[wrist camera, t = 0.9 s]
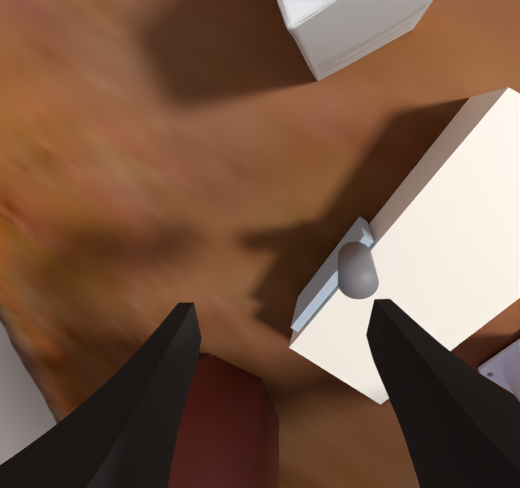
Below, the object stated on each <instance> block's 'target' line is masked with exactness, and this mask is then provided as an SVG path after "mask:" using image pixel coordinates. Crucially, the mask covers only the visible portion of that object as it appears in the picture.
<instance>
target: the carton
mask: <svg viewBox="0 0 520 488" xmlns="http://www.w3.org/2000/svg"><path fill="white" fill-rule="evenodd" d="M369 228H370V232H371V235H372V238H373V241H374V242H373V243H372V244H371V245H370V247H369V249H370V251H371V253H372V257H373V261H374V265H375V268H376V272H377V276H378V279H379V286H378V289H377V291H376V292H375V293H374V294H373V295H372V296H370V297H368V298H365V299H352V298H349V297H347V296H346V295H344V294H343V293H342V292H341V290H340V289H339V286H338V285H337V286H336V288H335V289H334V290H333V291H332V292H331V294H330V295H329V296H328V297H327V298H326V300H325V301H324V302H323V303H322V304H321V306H320V307H319V308H318V309H317V310H316V312H315V313H314V314H313V315H312V316H311V318H310V319H309V320H308V321H307V322H306V324H305V325H304V326H303V327H302V328H301V330H300V331H299V332H297V331H295V330H294V329H293V333H292V338H291V342H290V347H289V348H291V349H292V350H294V351H296V352H297V353H299V354H300V355H302V356H304V357H305V358H307V359H308V360H310V361H312V362H313V363H315V364H316V365H318V366H320V367H321V368H323V369H324V370H326V371H328V372H329V373H331V374H332V375H334V376H336V377H337V378H339V379H340V380H342V381H344V382H345V383H347V384H348V385H350V386H352V387H353V388H355V389H356V390H358V391H360V392H361V393H363V394H364V395H366V396H368V397H369V398H371V399H372V400H374V401H376V402H377V403H379V404H380V405H381V404H382V403H383V402H385V401H386V400H387V399H389V397H388V395H387V392H386V390H385V387H384V385H383V383H382V380H381V378H380V376H379V373H378V371H377V368H376V366H375V363H374V361H373V358H372V355H371V351H370V348H369V344H368V340H367V337H366V333H367V329H368V325H369V320H370V316H371V312H372V307H373V303H374V299H391V300H392V301H393V302H394V303H395V304H397V305H398V306H399V307H400V308H401V309H402V310H403V311H404V312H405V313H406V314H408V315H409V316H410V317H411V318H412V319H413V320H414V321H415V322H416V323H418V324H419V325H420V326H421V327H422V328H423V329H424V330H425V331H427V332H428V333H429V334H430V335H431V336H432V337H434V338H435V339H436V340H437V341H438V342H439V343H441V344H442V345H443V346H444V347H445V348H447V349H448V350H449V351H451V350H452V349H454V348H455V347H456V346H457V345H459V344H460V343H461V342H463V341H464V340H465V339H467V338H468V337H469V336H470V335H472V334H473V333H474V332H476V331H477V330H478V329H480V328H481V327H482V326H483V325H485V324H486V323H487V322H489V321H490V320H491V319H493V318H494V317H495V316H496V315H498V314H499V313H500V312H502V311H503V310H504V309H506V308H507V307H508V306H509V305H511V304H512V303H513V302H515V301H516V300H517V299H519V298H520V94H519V93H518V92H516V91H514V90H512V89H511V88H509V87H508V88H504V89H500V90H497V91H493V92H489V93H485V94H481V95H477V96H474V97H470V98H469V99H468V100H467V101H466V103H465V104H464V105H463V107H462V108H461V109H460V110H459V112H458V113H457V114H456V115H455V117H454V118H453V119H452V120H451V122H450V123H449V124H448V125H447V127H446V128H445V129H444V130H443V132H442V133H441V134H440V136H439V137H438V138H437V139H436V141H435V142H434V143H433V144H432V146H431V147H430V148H429V149H428V151H427V152H426V153H425V154H424V156H423V157H422V158H421V159H420V161H419V162H418V163H417V165H416V166H415V167H414V168H413V170H412V171H411V172H410V173H409V175H408V176H407V177H406V178H405V180H404V181H403V182H402V183H401V185H400V186H399V187H398V188H397V190H396V191H395V192H394V193H393V195H392V196H391V197H390V199H389V200H388V201H387V202H386V204H385V205H384V206H383V207H382V209H381V210H380V211H379V212H378V214H377V215H376V216H375V217H374V219H373V220H372V221H371V222H370V224H369Z"/></svg>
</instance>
